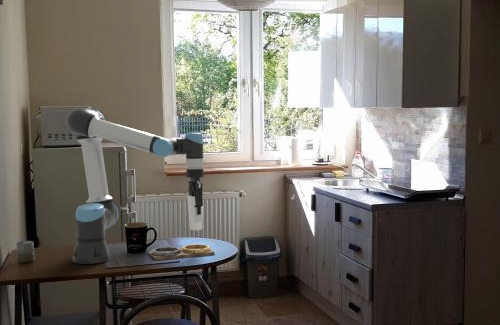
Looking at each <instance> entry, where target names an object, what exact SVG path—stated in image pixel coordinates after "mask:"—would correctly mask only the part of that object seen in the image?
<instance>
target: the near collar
mask: <svg viewBox="0 0 500 325" xmlns="http://www.w3.org/2000/svg"><path fill="white" fill-rule="evenodd" d="M168 250H169V251H172V252H159V251H168ZM151 251H152V253H153V254H154V255H156V256H172V255H177V254H180V253H181V248H180V247H179V246H177V247H176V246H159V247H155V248H154V249H153V248H152V249H151Z"/></svg>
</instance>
